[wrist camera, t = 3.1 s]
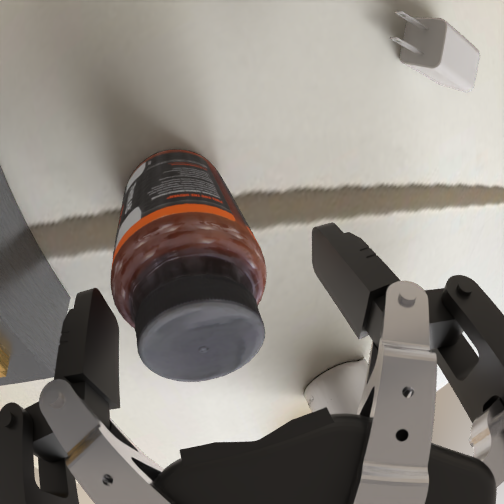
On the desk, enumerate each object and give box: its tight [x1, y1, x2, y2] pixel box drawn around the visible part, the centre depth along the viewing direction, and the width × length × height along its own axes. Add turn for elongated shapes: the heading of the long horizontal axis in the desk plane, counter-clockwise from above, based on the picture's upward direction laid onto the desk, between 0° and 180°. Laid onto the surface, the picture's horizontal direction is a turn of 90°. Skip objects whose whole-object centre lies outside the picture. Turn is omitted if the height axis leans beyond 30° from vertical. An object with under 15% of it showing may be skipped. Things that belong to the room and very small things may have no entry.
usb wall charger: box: [390, 11, 480, 92], centre depth 14 cm, size 4×7×4 cm, turn 79°
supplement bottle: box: [111, 150, 266, 382], centre depth 13 cm, size 6×6×11 cm
